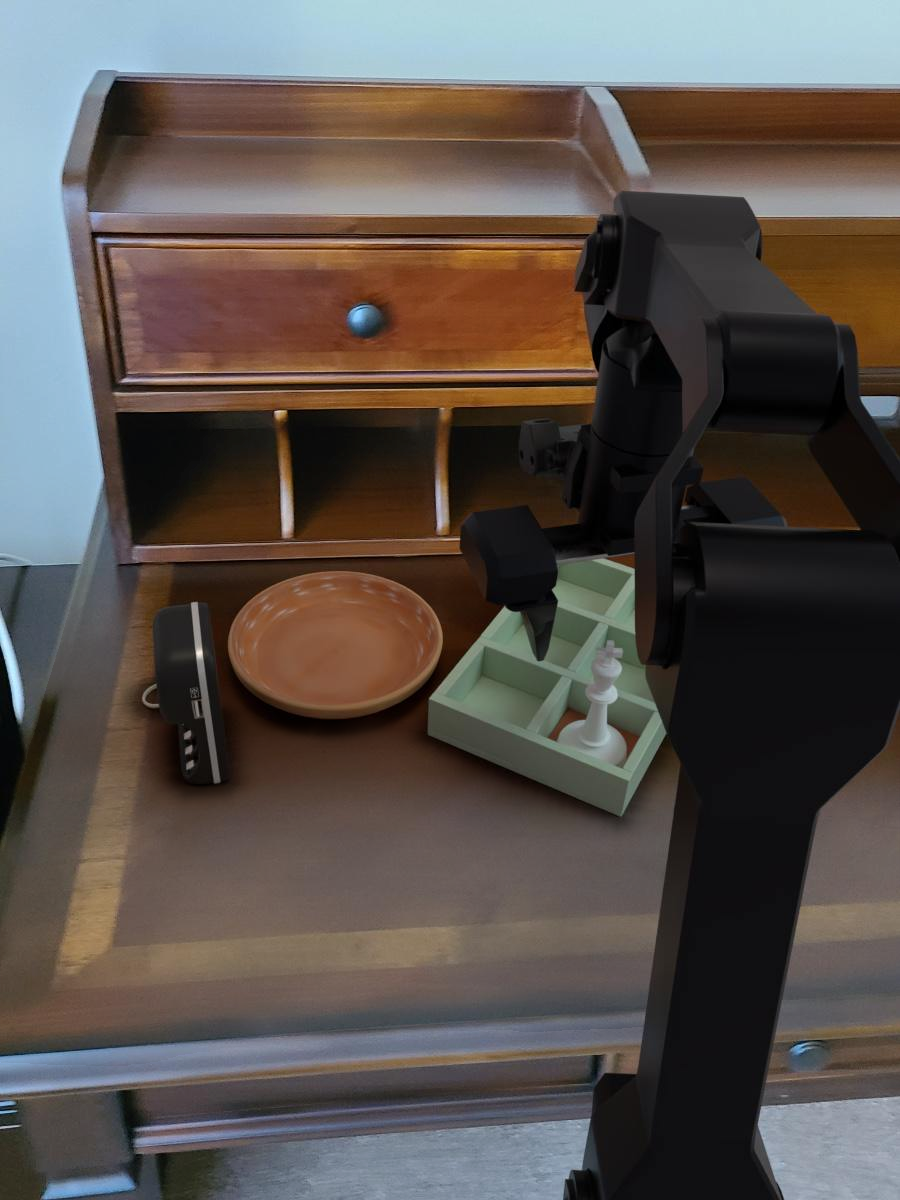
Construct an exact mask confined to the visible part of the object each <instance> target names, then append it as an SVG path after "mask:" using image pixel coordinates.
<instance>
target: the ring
mask: <svg viewBox="0 0 900 1200" xmlns="http://www.w3.org/2000/svg"><path fill="white" fill-rule="evenodd" d="M155 689H156V690H157V687H156V683H155V684H153V685H151V686H149V687H148V688H147V689H145V691H144V692H143V694H142V696H141V701H142V703H143V705H144V706H146V707H148V708H150V709H160V708H159V703H149V702H147V696H148V695H149V694H150V693H151V692H152V691H154V690H155Z"/></svg>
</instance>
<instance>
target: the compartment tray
mask: <svg viewBox="0 0 900 1200" xmlns="http://www.w3.org/2000/svg"><path fill="white" fill-rule="evenodd" d="M557 567H558V575H557V583H556V586H555V587H554V588H553V589H552V591H553V592H554V594H555V596H556V597H557V599H558V605H557V610H556V615H555V619H554V624H553V629H552V634H551V639H550V644H549V649H548V652H547V654H546V656H545V658H544V660H543V661H537V660H536V658H535V656H534V654H533V652H532V649H531V646H530V642H529V639H528V636H527V633H526V629H525V626H524V623H523V619H522V616H521V613H520V612H512V611H510V610H508V609H507V608H506V607H505V605H503V607H502V609H501V610H500V611H499V612H498V614H496V616H495V617H494V618H493V620H491V622H490V623H489V625H488V626H486V628H485V630H484V631H483V632H482V633H481V634H480V636H479V637H478V638H477V640H476V641H475V642H473V644H472V645H471V647H470V648H469V649H468V650H467V651H466V653H465V654H464V655H463V656H462V657H461V659H460V660H459V661H458V663H457V664H456V665H455V666H454V668H453V669H452V670H451V671H450V672H449V673H448V674H447V676H446V677H445V678H444V679H443V681H442V682H441V684H439V685H438V686H437V688H436V689H435V691H434V692H433V693H432V694H431V695H430V696H429V698H428V710H427V711H428V714H427V735H428V736H430V737H432V738H434V739H436V740H439V741H440V742H441V741H442V742H444V743H446V744H449V745H451V746H453V747H456V748H458V749H460V750H463V751H465V752H468V753H469V754H472V755H474V756H477V757H479V758H481V759H483V760H486V761H489V762H491V763H493V764H495V765H497V766H500V767H503V768H505V769H507V770H510V771H512V772H513V773H517V774H519V775H521V776H524V777H525V778H529V779H531V780H533V781H535V782H538V783H540V784H542V785H545V786H546V787H550V788H551V789H554V790H557V791H559V792H562V793H563V794H566V795H568V796H571V797H573V798H576V799H577V800H579V801H580V800H581V802H582V801H583V802H585V803H587V804H589V805H592V806H594V807H597V808H599V809H601V810H604V811H606V812H608V813H611V814H613V815H615V816H617V817H619V818H621V817H622V816H623V815H624V813H625V811H626V810H627V807H628V805H629V803H630V801H631V799H632V798H633V796H634V794H635V793H636V790H637V789H638V787H639V785H640V782H641V781H642V780H643V778H644V776H645V774H646V772H647V770H648V769H649V766H650V765H651V762H652V760H653V759H654V757H655V755H656V753H657V751H658V750H659V748H660V746H661V744H662V742H663V740H664V738H665V736H666V735H667V733H666V731H665V728H664V725H663V723H662V720H661V718H660V715H659V712H658V710H657V707H656V705H655V702H654V699H653V697H652V694H651V692H650V689H649V686H648V684H647V681H646V678H645V669H646V665H641V663H640V661H639V658H638V655H637V648H636V641H635V568H633V567H630V566H627V565H625V564H622V563H619V562H615V561H613V560H609V559H608V558H602V559H596V560H589V561H582V562H575V563H568V564H561V565H557ZM607 640H612V641H614V648H622V651H623V654H622V658H615V659H616V660H618V661H619V662H620V664H621V666H622V671H621V673H620V675H619V676H618V678H617V679H616V680H615V682H614V684H613V685H614V686H615V688H616V690H617V694H618V696H617V699H616V700H615V701H614V702H613V703H611V704H608V705H607V724H608V725H610V726H612V727H613V728H615V729H616V730H617V731H618V732H619V733H620V734H621V735H622V736H623V738H624V740H625V742H626V746H627V751H626V752H627V757H626V761H625V763H624V765H623V766H622V768H619V767H617V766H614V765H612V764H609V763H607V762H604V761H602V760H600V759H597V758H595V757H592V756H590V755H587V754H585V753H582V752H580V751H578V750H575V749H573V748H570V747H568V746H565V745H563V744H560V743H558V742H557V740H558V737H559V734H560V732H561V731H562V730H563V728H565V727H566V726H567V725H569V724H570V723H573V722H575V721H579V720H586V718H587V715H588V713H589V710H590V707H591V703H592V701H590V700H589V699H588V698H587V696H586V693H585V691H586V688H587V686H588V685H589V684H590V683H591V682H593V681H594V678H593V674H592V671H591V662H592V661H593V660H594V659H595V658H596V655H595V650H596V647H601V648H606V643H607Z"/></svg>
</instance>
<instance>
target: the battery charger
mask: <svg viewBox="0 0 900 1200" xmlns="http://www.w3.org/2000/svg"><path fill="white" fill-rule="evenodd" d="M152 641H153V664H154V674H155V675H154V676H155V684H156V687H157V688H156V693H157V700H158V701H157V702H158V704H159V708H158V709H159V712H160V715H161V717H163V720H164V722H166V723H168V724H169V725H178V726H177V729H178V745H179V759H180V769H181V770H180V771H181V775H182V777H183V779H184V781H185V782H187V783H189V784H195V785H200V784H201V785H206V784H207V785H208V784H214V785H215V784H221V782H225V781H228V780H229V779H230V777H231V776H230V775H231V772H230V771H231V770H230V763H229V755H228V746H227V737H226V730H225V719H224V711H223V704H222V698H221V697H222V696H221V688H220V681H219V680H220V679H219V673H218V665H217V658H216V657H217V656H216V650H215V641H214V634H213V626H212V619H211V611H210V606H209V604H208V603H206V602H198V601H193V602H190V603H187V604H180V605H179V604H178V605H171V606H166V607H163V608H161V609H159V610H158V611H157V612H156V614H155V615H154V617H153V620H152Z"/></svg>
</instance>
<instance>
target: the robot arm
mask: <svg viewBox="0 0 900 1200" xmlns="http://www.w3.org/2000/svg"><path fill="white" fill-rule="evenodd" d="M612 210H613V212H614V213H616V214H611V213H600V214H599V215H598V218H597V220H596V221H595V222H596V223H595V227H594V230H593V231H592V232H591V233H590V234H589V235H588V236H587V237H586V238H585V239H584V243H583V246H582V248H581V251H580V254H579V257H578V260H577V263H576V265H575V268H574V288H573V289H574V293H581V295H582V300H583V315H584V320H585V325H586V326H585V327H586V331H587V337H588V342H589V349H590V353H591V358H592V361H593V365H594V368H595V370H596V371H597V373H598V374H597V382H596V389H595V395H594V404H593V410H592V418H591V422H590V423H582V424H573V425H564V426H559V422H557V421H551V420H550V419H549V418H540V419H529V420H522V421H521V426H520V433H519V440H518V460H519V461H518V462H519V466H520V469H521V471H523V472H524V473H526V474H528V475H530V476H531V477H533V478H537V477H546V480H547V481H548V482H556V483H557V484H559V485H561V486H562V491H561V501H562V502H563V503H564V505H565V506H566V508H567V509H568V510H574V509H576V510H577V512H578V515H577V516H578V517H577V523H573V524H566V525H558V526H549V527H544V528H542V526H541V524H540V523H539V522H538V519H537V518H536V517H535V515H534V513H533V512H532V510H531V508H530V506H529V505H528V504H524V505H518V506H516V505H515V506H509V507H508V506H507V507H502V508H494V509H487V510H486V509H485V510H479V511H472V512H471V513H470V514H468V515H467V516H466V518H465V519H464V520H463V522H462V523H461V525H460V532H459V551H460V552H461V555H462V557H463V558H464V561H465V563H466V565H467V566H468V568H469V571H470V573H471V575H472V577H473V579H474V580H475V583H476V584H477V586H478V589H479V590H480V593H481V594H482V596H483V599H484V600H485V602H488V603H490V604H493V605H495V606H505V607H506V608H507V609H508V610H510V611H512V612H520V613H521V616H522V619H523V623H524V626H525V629H526V633H527V636H528V639H529V642H530V646H531V649H532V652H533V654H534V656H535V658H536V660H537V661H543V660H544V658H545V656H546V654H547V652H548V649H549V644H550V639H551V634H552V629H553V624H554V619H555V615H556V610H557V605H558V599H557V597H556V596H555V594H554V592H553V591H552V589H553V588H554V587H555V586H556V583H557V575H558V567H557V565H561V564H568V563H575V562H582V561H589V560H596V559H602V558H604V559H608V558H615V557H622V556H629V555H634V569H635V641H636V648H637V655H638V658H639V661H640V663H641V665H646V669H645V678H646V681H647V684H648V686H649V689H650V692H651V694H652V697H653V699H654V702H655V705H656V707H657V710H658V712H659V715H660V718H661V720H662V723H663V725H664V728H665V731H666V735H667V738H668V741H669V743H670V745H671V747H672V749H673V751H674V753H675V755H676V756H677V759H678V760H679V762H680V763H679V772H678V779H677V784H676V793H675V800H674V807H673V815H672V821H671V828H670V836H669V844H668V851H667V856H666V857H667V858H666V865H665V872H664V878H663V886H662V892H661V893H662V894H661V901H660V907H659V915H658V921H657V929H656V936H655V943H654V951H653V957H652V958H653V959H652V963H651V964H652V965H651V972H650V980H649V986H648V994H647V1000H646V1006H645V1007H646V1009H645V1015H644V1022H643V1028H642V1029H643V1030H642V1037H641V1044H640V1050H639V1051H640V1052H639V1058H638V1065H637V1071H636V1073H625V1072H624V1073H622V1072H604V1073H603V1074H602V1075H601V1077H600V1078H599V1080H598V1081H597V1083H596V1085H594V1087H593V1092H592V1104H591V1116H590V1120H589V1124H588V1125H589V1126H588V1131H587V1136H586V1141H585V1147H584V1152H583V1159H582V1164H581V1165H582V1166H581V1169H570V1171H569V1173H568V1178H565V1179H564V1185H563V1195H562V1200H785V1197H784V1195H783V1191H782V1189H781V1186H780V1185H779V1183H778V1182H777V1181H776V1177H775V1174H774V1171H773V1168H772V1164H771V1162H770V1159H769V1155H768V1153H767V1149H766V1147H765V1143H764V1140H763V1137H762V1134H761V1131H760V1127H759V1119H760V1114H761V1110H762V1105H763V1100H764V1096H765V1095H764V1094H765V1089H766V1084H767V1079H768V1073H769V1068H770V1063H771V1059H772V1053H773V1048H774V1044H775V1039H776V1035H777V1028H778V1023H779V1018H780V1014H781V1007H782V1003H783V998H784V992H785V987H786V983H787V978H788V973H789V967H790V962H791V957H792V952H793V947H794V941H795V936H796V931H797V926H798V921H799V915H800V910H801V905H802V901H803V895H804V892H805V891H804V890H805V885H806V879H807V874H808V869H809V865H810V859H811V855H812V849H813V844H814V839H815V834H816V829H817V824H818V820H819V816H820V813H821V810H822V809H823V808H824V807H825V806H826V805H827V804H828V803H829V802H830V801H832V799H833V798H834V797H835V796H837V795H838V794H839V793H840V792H841V791H842V790H843V789H844V788H845V787H846V786H847V785H848V784H849V783H851V781H853V780H854V779H855V778H856V777H857V776H858V775H859V774H860V773H861V772H863V770H865V769H866V768H867V766H869V765H870V764H871V763H872V762H873V761H875V759H876V758H878V756H880V754H882V753H883V752H884V751H885V750H886V748H887V747H888V745H889V743H890V742H891V739H892V735H893V731H894V729H895V726H896V722H897V719H898V716H899V713H900V456H899V455H898V453H897V452H896V450H895V449H894V448H893V446H892V444H890V442H889V440H888V439H887V437H886V436H885V434H884V433H883V431H882V430H881V428H880V427H879V425H878V424H877V422H876V421H875V419H874V418H873V416H872V415H871V413H870V412H869V410H868V408H866V406H865V405H864V403H863V400H862V398H861V397H862V395H861V382H860V367H859V351H858V346H857V339H856V334H855V333H854V330H853V329H852V327H851V325H850V324H846V323H836V322H835V321H834V320H833V319H832V317H831V316H830V315H828V314H822V313H817V312H816V311H815V310H814V309H812V307H811V306H809V305H808V303H806V302H805V301H804V300H803V299H802V298H801V297H800V296H799V295H798V294H796V292H794V291H793V290H792V289H791V288H790V287H789V286H788V285H787V284H786V283H784V282H783V280H782V279H780V277H778V276H777V275H776V273H774V272H773V271H772V270H771V269H770V268H768V267H767V266H766V265H765V263H763V262H762V255H763V254H762V253H763V233H762V225H761V223H760V222H759V220H758V218H757V216H756V215H755V213H754V211H753V209H752V207H751V205H750V204H749V202H748V201H747V199H746V198H745V197H744V196H729V195H714V194H713V195H711V194H692V193H675V192H659V191H656V192H654V191H640V190H639V191H637V190H636V191H635V190H620V191H619V192H618V193H617V194H615V196H614V198H613V209H612ZM706 429H707V430H708V431H710V432H726V433H727V432H729V433H748V434H749V433H750V434H770V435H771V434H772V435H789V436H791V435H792V436H806V443H807V446H808V449H809V452H810V454H811V455H812V457H813V459H814V460H815V462H816V463H817V465H818V466H819V468H820V469H821V471H822V472H823V474H824V476H825V477H826V479H827V480H828V482H829V483H830V485H831V486H832V488H833V490H834V491H835V492H836V494H837V496H838V497H839V499H840V500H841V502H842V503H843V505H844V506H845V508H846V509H847V512H848V513H849V514H850V515H851V517H852V519H853V520H854V522H855V523H856V525H857V526H858V528H859V529H850V528H849V529H848V528H845V529H844V528H825V527H824V528H823V527H807V526H788V522H787V519H786V518H785V517H784V516H783V515H782V514H781V512H780V511H779V510H778V509H777V508H776V507H775V506H774V505H773V504H772V503H771V502H770V500H769V499H767V497H765V495H764V494H763V493H762V492H761V491H760V490H759V489H758V488H757V487H756V486H755V485H754V483H753V482H752V481H751V480H750V479H749V478H748V477H747V476H740V477H739V476H737V477H731V478H723V479H716V480H706V481H702V478H703V473H704V468H705V467H704V465H703V464H701V462H700V461H699V460H698V459H697V458H696V457H695V456H694V451H695V447H696V445H697V443H698V442H699V440H700V439H701V437H702V436H703V433H705V430H706ZM683 503H685V504H686V505H683Z"/></svg>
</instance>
